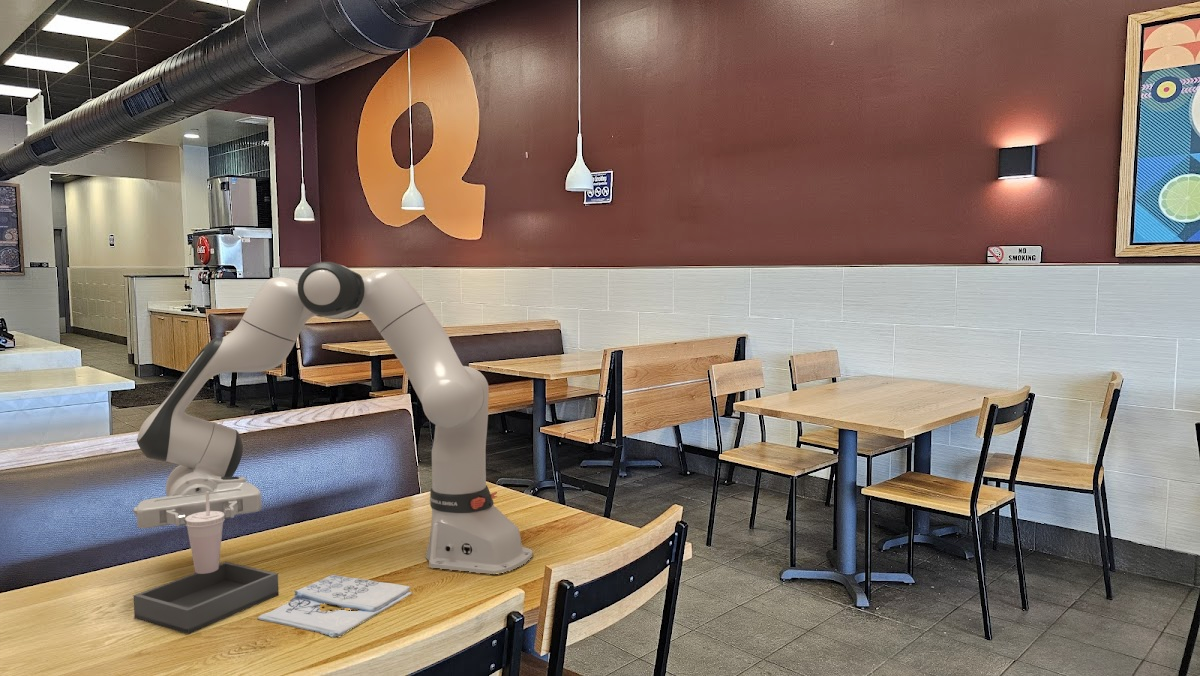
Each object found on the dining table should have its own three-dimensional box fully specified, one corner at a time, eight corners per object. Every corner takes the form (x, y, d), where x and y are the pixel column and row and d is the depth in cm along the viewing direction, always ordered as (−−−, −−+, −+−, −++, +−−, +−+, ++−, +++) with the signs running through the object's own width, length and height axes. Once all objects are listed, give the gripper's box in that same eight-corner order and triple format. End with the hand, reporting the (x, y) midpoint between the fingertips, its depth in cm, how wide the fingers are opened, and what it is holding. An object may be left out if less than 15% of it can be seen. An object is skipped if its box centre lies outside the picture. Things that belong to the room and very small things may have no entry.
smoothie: (219, 575, 135) (216, 496, 134) (180, 577, 135) (176, 497, 134) (232, 562, 142) (229, 486, 141) (195, 563, 141) (192, 487, 140)
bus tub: (278, 594, 144) (277, 573, 143) (188, 634, 128) (187, 610, 127) (226, 581, 150) (225, 561, 150) (134, 618, 134) (133, 595, 134)
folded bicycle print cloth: (414, 596, 144) (414, 585, 144) (336, 643, 126) (335, 630, 125) (334, 581, 152) (334, 570, 152) (249, 622, 133) (248, 610, 133)
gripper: (131, 490, 142) (135, 509, 131) (253, 475, 154) (266, 491, 142) (133, 524, 143) (137, 546, 131) (254, 506, 154) (267, 525, 143)
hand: (205, 517), depth 137 cm, fingers closed on smoothie, 6 cm apart
